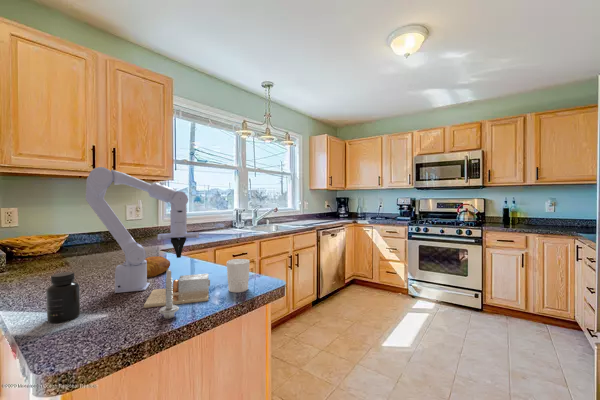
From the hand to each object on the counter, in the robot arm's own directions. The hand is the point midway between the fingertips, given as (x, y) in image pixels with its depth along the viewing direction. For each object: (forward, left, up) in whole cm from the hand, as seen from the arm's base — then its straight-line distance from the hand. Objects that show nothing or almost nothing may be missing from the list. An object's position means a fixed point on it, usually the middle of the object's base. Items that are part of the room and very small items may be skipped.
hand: (178, 257), depth 107 cm
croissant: (-13, +18, -10) cm, 24 cm away
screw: (+1, -34, -10) cm, 35 cm away
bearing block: (+2, -18, -9) cm, 20 cm away
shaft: (+6, -18, -8) cm, 21 cm away
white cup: (+21, -17, -10) cm, 29 cm away
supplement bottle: (-26, -26, -10) cm, 38 cm away
